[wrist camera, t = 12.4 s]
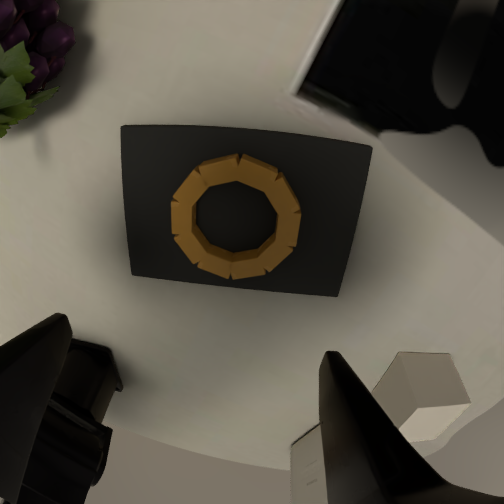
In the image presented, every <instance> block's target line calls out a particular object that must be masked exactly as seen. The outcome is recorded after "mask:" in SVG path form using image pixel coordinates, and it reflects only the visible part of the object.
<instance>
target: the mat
mask: <svg viewBox="0 0 504 504" xmlns="http://www.w3.org/2000/svg"><path fill="white" fill-rule="evenodd" d="M372 150H373V148H372V147H371V146H369V145H364V144H359V143H354V142H348V141H342V140H336V139H330V138H323V137H317V136H310V135H302V134H295V133H286V132H278V131H268V130H258V129H246V128H233V127H218V126H196V125H124V126H121V163H122V183H123V198H124V210H125V221H126V231H127V241H128V249H129V257H130V265H131V272H132V275H134V276H142V277H149V278H157V279H165V280H173V281H181V282H189V283H198V284H206V285H215V286H224V287H234V288H243V289H253V290H263V291H273V292H284V293H295V294H306V295H318V296H331V297H338V294H339V290H340V287H341V283H342V280H343V276H344V272H345V269H346V265H347V261H348V258H349V254H350V250H351V246H352V242H353V238H354V234H355V230H356V226H357V222H358V217H359V213H360V209H361V204H362V200H363V195H364V190H365V186H366V181H367V176H368V171H369V166H370V161H371V155H372ZM236 153H237V154H239V158H240V160H241V157H242V155H243V154H246V155H248V156H251V157H253V158H255V159H258V160H260V161H262V162H265V163H267V164H269V165H272V166H274V167H276V168H277V169H278V173H279V172H282V173H283V175H284V176H285V178H286V180H287V181H288V183H289V185H290V187H291V188H292V190H293V192H294V194H295V195H296V197H297V199H298V201H299V205H300V210H301V220H300V226H299V232H298V238H297V244H296V247H293V251H292V252H291V253H290V254H289V255H288V256H287V257H286V258H285V259H284V260H283V261H281V262H280V263H279V264H278V265H277V266H276V267H275V268H274V269H273V270H272V271H270V272H269V271H267V270H266V272H265V275H259V276H253V277H247V278H241V279H234V280H233V279H232V276H231V274H230V276H229V278H228V279H226V278H224V277H221V276H218V275H216V274H213V273H211V272H208V271H206V270H203V269H200V268H198V267H197V265H198V263H199V262H197V263H195V264H193V263H192V262H191V261H190V260H189V258H188V257H187V256H186V254H185V253H184V252H183V250H182V249H181V248H180V247H179V245H178V244H177V243H176V241H175V240H174V237H175V235H176V234H172V225H171V201H172V200H173V199H174V198H173V195H174V194H175V192H176V191H177V190H178V188H179V187H180V186H181V185H182V183H183V182H184V181H185V180H186V178H187V177H188V176H189V175H190V173H191V172H192V171H193V170H194V168H195V167H196V166H197V165H201V163H202V162H203V161H207V160H211V159H215V158H219V157H223V156H228V155H232V154H236ZM276 220H277V212H276V211H275V209H274V207H273V206H272V204H271V202H270V201H269V199H268V198H267V196H266V194H265V193H264V192H263V191H261V190H258V189H256V188H254V187H251V186H249V185H246V184H244V183H241V182H239V181H233V182H228V183H224V184H219V185H215V186H210V187H208V189H207V190H206V191H205V192H204V193H203V195H202V196H201V197H200V198H199V199H198V201H197V202H196V225H197V226H198V227H199V229H200V230H201V232H202V233H203V234H204V236H205V237H206V239H207V240H208V241H209V243H210V244H212V245H215V246H217V247H220V248H222V249H225V250H228V251H230V252H233V253H235V252H241V251H247V250H252V249H258V248H259V247H260V246H261V245H262V244H263V243H264V242H265V241H266V240H267V239H268V238H269V237H270V236H271V235H272V234H273V233H274V232H275V227H276Z"/></svg>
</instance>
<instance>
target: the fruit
mask: <svg viewBox="0 0 504 504" xmlns="http://www.w3.org/2000/svg"><path fill="white" fill-rule="evenodd" d="M59 8H60V6H59V5H58V4H57V2H56V1H55V0H0V138H2V137H3V136H5V135H6V134H7V130H6V129H10V127H9V126H8V125H13V124H18V121H19V120H22V119H26V118H27V117H28V115H32V114H34V111H35V110H36V109H37V108H33V107H32V106H35V105H37V104H39V103H42V102H44V101H46V100H48V99H50V98H51V97H53V96H54V95H52V94H54V93H55V92H57V91H58V90H57V89H58V88H59V87H60V86H59V87H55V88H52V89H49V90H44V88H45V85H46V83H48V82H49V81H51V80H52V79H54V78H56V77H57V75H58V74H59V73H60V71H61V70H62V68H63V66H64V64H65V60H64V56H65V55H66V54H67V52H68V51H69V50H70V49H71V47H72V46H73V45H74V44H75V43H76V42H75V37H74V31H73V27H71V26H69V25H67V24H65V23H63V22H62V21H58V22H57V17H58V13H59ZM41 86H42V89H39V88H41ZM42 90H44V91H42ZM32 91H33V92H32ZM38 91H40V92H38ZM41 91H42V92H41ZM31 92H32V93H31ZM36 92H37V93H36ZM51 95H52V96H51Z"/></svg>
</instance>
